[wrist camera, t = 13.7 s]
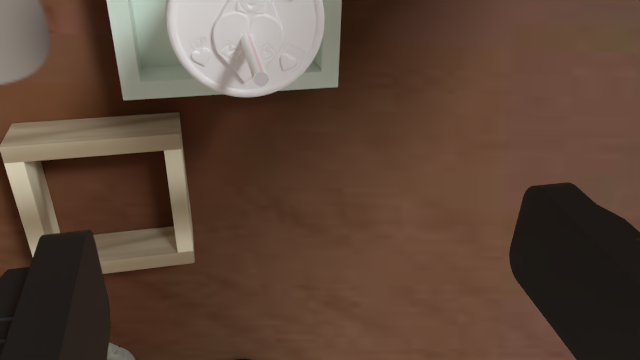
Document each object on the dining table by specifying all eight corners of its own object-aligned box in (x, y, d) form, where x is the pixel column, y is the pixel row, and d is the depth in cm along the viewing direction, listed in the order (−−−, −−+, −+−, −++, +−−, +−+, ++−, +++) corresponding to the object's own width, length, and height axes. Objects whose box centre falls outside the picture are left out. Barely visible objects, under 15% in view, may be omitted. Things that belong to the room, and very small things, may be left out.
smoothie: (166, 25, 31) (162, 145, 20) (167, -103, 28) (164, -50, 16) (280, 34, 33) (339, 150, 21) (293, -85, 30) (371, -26, 18)
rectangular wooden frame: (12, 123, 33) (-2, 147, 30) (179, 112, 35) (179, 133, 32) (48, 251, 38) (40, 281, 35) (193, 235, 40) (194, 262, 37)
